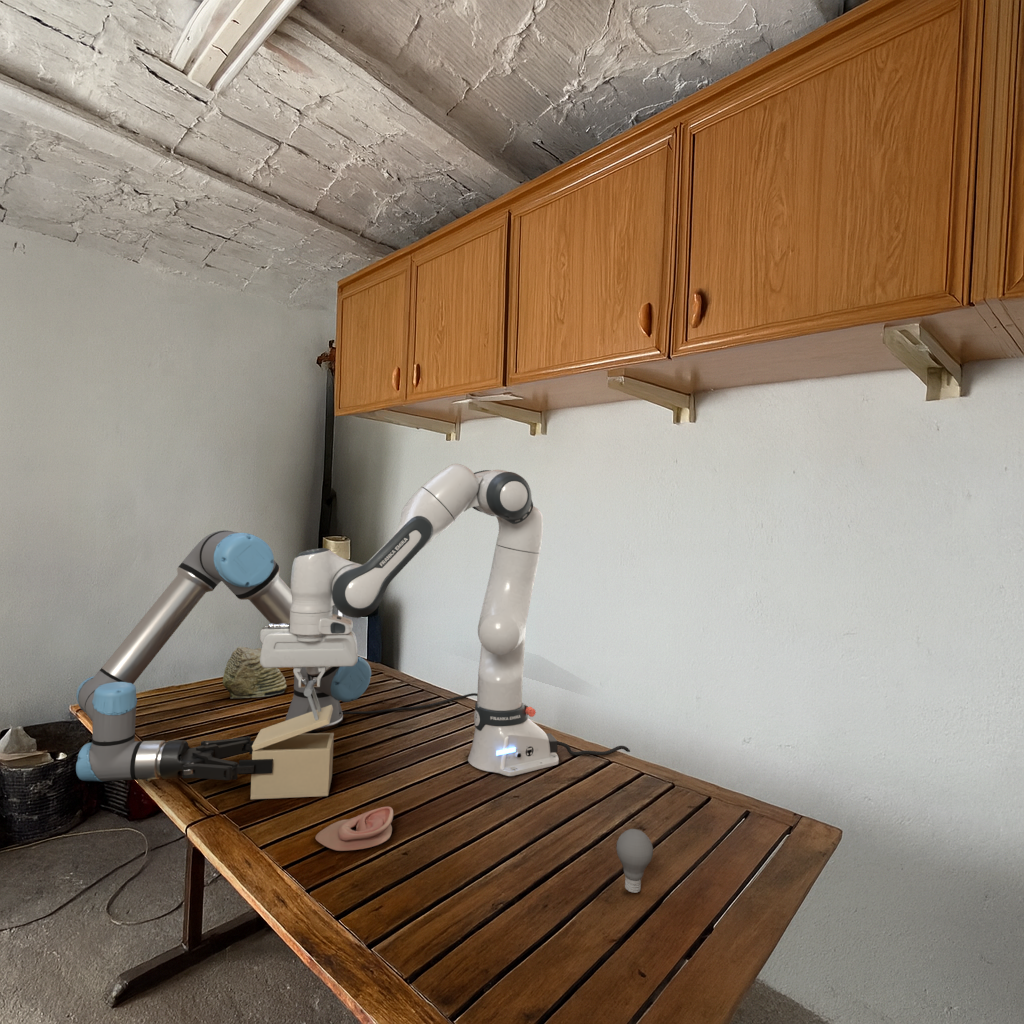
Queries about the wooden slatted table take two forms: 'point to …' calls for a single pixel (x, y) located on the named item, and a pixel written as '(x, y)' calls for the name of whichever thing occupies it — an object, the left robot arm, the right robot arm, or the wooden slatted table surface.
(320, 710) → the lid
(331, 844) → the anatomical model
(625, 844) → the light bulb
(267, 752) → the chest
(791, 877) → the wooden slatted table surface
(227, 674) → the fossil
